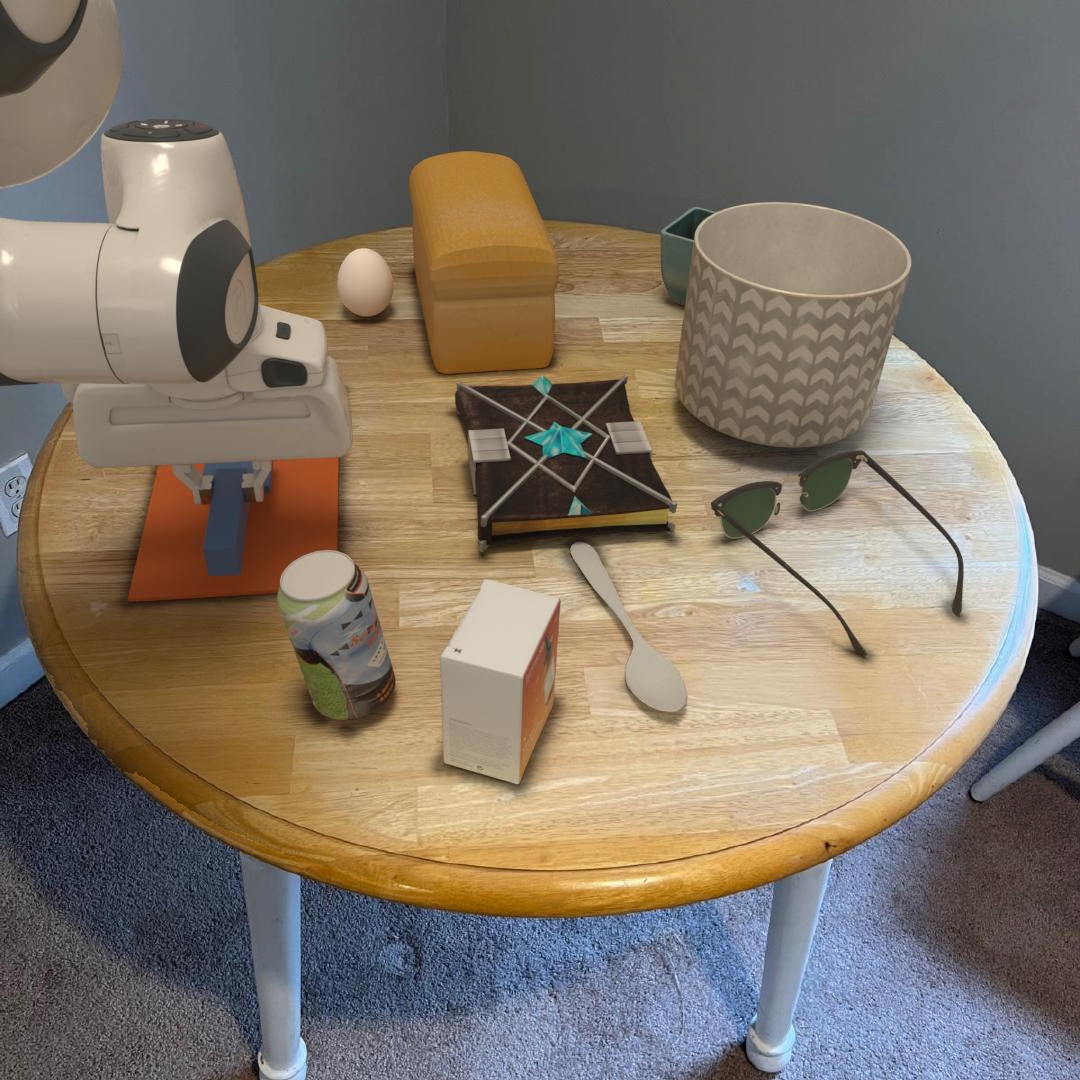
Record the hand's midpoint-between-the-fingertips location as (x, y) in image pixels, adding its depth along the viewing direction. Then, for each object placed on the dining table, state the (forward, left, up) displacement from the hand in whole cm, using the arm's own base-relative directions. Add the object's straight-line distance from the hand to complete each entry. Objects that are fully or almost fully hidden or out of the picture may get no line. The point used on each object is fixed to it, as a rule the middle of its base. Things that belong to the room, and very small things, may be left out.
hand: (230, 499), depth 88 cm
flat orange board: (+7, +6, -5) cm, 10 cm away
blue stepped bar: (+1, +1, -2) cm, 2 cm away
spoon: (+10, -31, -5) cm, 33 cm away
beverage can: (-8, -18, -5) cm, 20 cm away
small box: (-4, -29, -5) cm, 30 cm away
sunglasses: (+26, -43, -5) cm, 50 cm away
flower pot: (+62, -12, -5) cm, 63 cm away
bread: (+44, +7, -5) cm, 45 cm away
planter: (+44, -28, -5) cm, 52 cm away
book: (+24, -16, -5) cm, 29 cm away
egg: (+37, +17, -5) cm, 41 cm away
